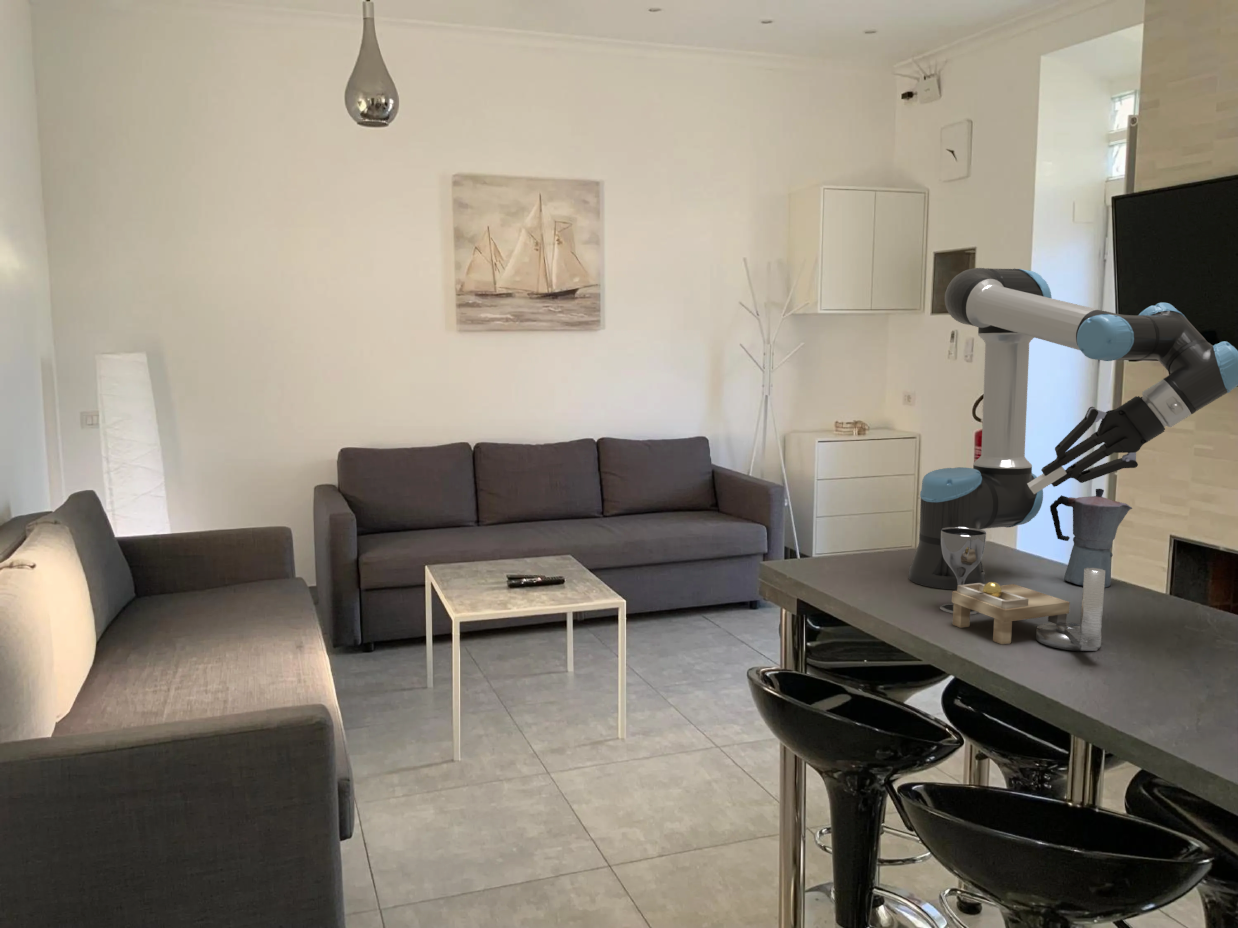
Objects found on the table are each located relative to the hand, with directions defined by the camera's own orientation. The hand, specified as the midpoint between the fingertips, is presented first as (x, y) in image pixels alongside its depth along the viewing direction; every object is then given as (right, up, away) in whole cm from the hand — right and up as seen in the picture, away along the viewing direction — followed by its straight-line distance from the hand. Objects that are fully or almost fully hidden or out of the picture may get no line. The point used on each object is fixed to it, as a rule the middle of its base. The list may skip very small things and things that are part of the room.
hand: (1030, 488), depth 178 cm
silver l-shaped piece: (+1, -26, -14) cm, 30 cm away
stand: (-6, -25, -4) cm, 26 cm away
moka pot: (+23, -21, +28) cm, 42 cm away
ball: (-9, -17, -6) cm, 21 cm away
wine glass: (-10, -23, +9) cm, 27 cm away
